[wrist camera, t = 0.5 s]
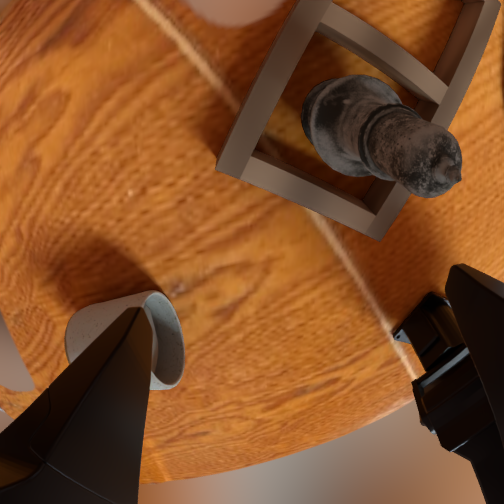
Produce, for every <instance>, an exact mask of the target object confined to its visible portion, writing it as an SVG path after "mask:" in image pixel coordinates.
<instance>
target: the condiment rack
mask: <svg viewBox="0 0 504 504" xmlns="http://www.w3.org/2000/svg"><path fill="white" fill-rule="evenodd" d="M461 1H462V2H463V3H464V6H463V8H462V11H461V13H460V15H459V18H458V20H457V22H456V25H455V27H454V29H453V31H452V34H451V36H450V38H449V40H448V42H447V45H446V47H445V49H444V51H443V53H442V55H441V57H440V59H439V62H438V64H437V66H436V68H435V70H434V72H433V73H432V72H431V71H430V70H429V69H428V68H426V67H425V66H424V65H423V64H422V63H420V62H419V61H418V60H417V59H415V58H414V57H413V56H412V55H410V54H409V53H408V52H407V51H405V50H404V49H403V48H401V47H400V46H399V45H397V44H396V43H395V42H393V41H392V40H391V39H389V38H388V37H386V36H385V35H384V34H382V33H381V32H379V31H378V30H376V29H375V28H373V27H372V26H370V25H369V24H367V23H366V22H364V21H363V20H361V19H359V18H358V17H356V16H355V15H353V14H351V13H350V12H348V11H346V10H345V9H343V8H341V7H339V6H338V5H336V4H334V3H332V0H296V2H295V4H294V6H293V7H292V9H291V11H290V13H289V14H288V16H287V18H286V20H285V22H284V23H283V25H282V27H281V29H280V31H279V32H278V34H277V36H276V38H275V40H274V42H273V44H272V45H271V47H270V49H269V51H268V53H267V55H266V57H265V59H264V61H263V63H262V65H261V66H260V68H259V70H258V72H257V74H256V76H255V78H254V80H253V82H252V84H251V86H250V88H249V90H248V92H247V94H246V97H245V99H244V101H243V103H242V105H241V107H240V109H239V111H238V113H237V115H236V117H235V120H234V122H233V124H232V126H231V128H230V130H229V132H228V135H227V137H226V139H225V141H224V143H223V146H222V148H221V150H220V152H219V155H218V157H217V160H216V167H215V170H217V171H220V172H222V173H225V174H227V175H230V176H232V177H235V178H237V179H240V180H242V181H245V182H247V183H250V184H252V185H255V186H257V187H259V188H262V189H264V190H267V191H269V192H271V193H274V194H276V195H278V196H281V197H283V198H285V199H288V200H290V201H292V202H295V203H297V204H299V205H302V206H304V207H306V208H308V209H311V210H313V211H315V212H317V213H319V214H322V215H324V216H326V217H328V218H330V219H333V220H335V221H337V222H339V223H341V224H343V225H346V226H348V227H350V228H352V229H354V230H356V231H358V232H360V233H362V234H364V235H367V236H369V237H371V238H373V239H375V240H377V241H379V242H380V241H381V240H382V238H383V237H384V235H385V234H386V232H387V231H388V229H389V228H390V226H391V225H392V223H393V222H394V220H395V219H396V217H397V216H398V214H399V212H400V211H401V209H402V208H403V206H404V204H405V203H406V201H407V200H408V198H409V196H410V195H411V192H409V191H408V190H406V189H405V188H404V187H403V186H401V185H400V184H399V183H397V182H396V181H395V180H394V181H389V180H383V179H380V178H378V177H376V179H375V181H374V182H373V184H372V186H371V187H370V189H369V191H368V192H367V194H366V196H365V197H364V199H363V201H362V200H360V199H358V198H356V197H354V196H352V195H350V194H348V193H346V192H344V191H342V190H341V189H339V188H337V187H335V186H333V185H331V184H329V183H327V182H325V181H323V180H321V179H319V178H317V177H314V176H312V175H310V174H308V173H306V172H304V171H302V170H300V169H298V168H296V167H293V166H291V165H289V164H287V163H285V162H283V161H280V160H278V159H276V158H274V157H271V156H269V155H267V154H265V153H262V152H260V151H258V150H255V149H254V148H255V146H256V144H257V142H258V140H259V138H260V136H261V134H262V132H263V130H264V128H265V126H266V124H267V122H268V120H269V118H270V116H271V114H272V112H273V110H274V108H275V106H276V104H277V102H278V100H279V98H280V96H281V94H282V92H283V90H284V88H285V87H286V85H287V83H288V81H289V79H290V77H291V75H292V73H293V71H294V69H295V67H296V66H297V64H298V62H299V60H300V58H301V56H302V54H303V52H304V51H305V49H306V47H307V45H308V43H309V41H310V39H311V38H312V36H313V34H314V32H315V31H316V32H318V33H320V34H322V35H323V36H325V37H327V38H329V39H331V40H332V41H334V42H336V43H338V44H339V45H341V46H343V47H344V48H346V49H348V50H349V51H351V52H353V53H354V54H356V55H357V56H359V57H361V58H362V59H364V60H365V61H367V62H368V63H370V64H371V65H373V66H374V67H376V68H377V69H379V70H380V71H382V72H383V73H384V74H386V75H387V76H389V77H390V78H391V79H393V80H394V81H396V82H397V83H398V84H400V85H401V86H402V87H404V88H405V89H406V90H407V91H409V92H410V93H411V94H413V95H414V96H415V97H416V98H418V99H419V102H418V103H417V105H416V107H415V109H414V110H415V111H416V112H417V113H418V114H419V115H420V117H421V118H422V119H423V120H425V121H428V122H431V123H434V124H436V125H439V126H442V127H444V128H445V129H446V130H448V128H449V126H450V124H451V122H452V120H453V118H454V116H455V114H456V112H457V110H458V108H459V106H460V104H461V102H462V100H463V98H464V96H465V94H466V91H467V89H468V87H469V85H470V83H471V81H472V78H473V76H474V74H475V72H476V69H477V67H478V65H479V62H480V60H481V58H482V55H483V53H484V50H485V48H486V45H487V43H488V40H489V37H490V35H491V32H492V30H493V27H494V24H495V21H496V18H497V15H498V13H499V10H500V7H501V3H500V2H499V1H498V0H461Z"/></svg>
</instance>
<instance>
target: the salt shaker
mask: <svg viewBox="0 0 504 504" xmlns="http://www.w3.org/2000/svg"><path fill="white" fill-rule="evenodd" d="M301 119H302V127H303V129H304V132H305V134H306V136H307V138H308V139H309V140H310V142H311V143H312V144H313V145H314V147H315V150H316V151H317V153H318V154H319V155H320V157H321V158H322V160H323V161H324V162H325V163H326V164H328V165H329V166H330V167H331V168H332V169H333V170H335V171H338V172H340V173H342V174H344V175H348V176H354V177H363V176H370V175H374V176H376V177H378V178H380V179H383V180H389V181H394V180H395V181H396V182H397V183H399V184H400V185H401V186H403V187H404V188H405V189H406V190H408V191H409V192H411V193H413V194H414V195H417V196H419V197H424V198H433V197H437V196H439V195H442V194H444V193H446V192H447V191H448V190H450V189H451V188H452V186H453V185H454V184H456V183H458V182H459V181H461V179H462V178H461V168H462V155H461V150H460V147H459V144H458V142H457V140H456V139H455V137H454V136H453V135H452V134H451V133H450V132H449V131H447V130H446V129H445V128H444V127H442V126H439V125H436V124H434V123H431V122H428V121H425V120H423V119H422V118H421V117H420V115H419V114H418V113H417V112H416V111H415V110H413V109H412V108H410V107H409V106H406V105H403V104H402V102H401V100H400V98H399V97H398V95H397V94H396V93H395V92H394V91H393V90H392V88H391V87H390V86H389V85H387V84H385V83H384V82H382V81H381V80H379V79H377V78H374V77H371V76H367V75H349V76H345V77H342V78H339V79H330V80H327V81H323V82H321V83H320V84H318V85H317V86H315V87H314V88H313V89H312V90H311V91H310V93H309V94H308V95H307V97H306V99H305V101H304V103H303V107H302V113H301Z"/></svg>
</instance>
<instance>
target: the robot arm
mask: <svg viewBox="0 0 504 504" xmlns="http://www.w3.org/2000/svg"><path fill="white" fill-rule="evenodd" d="M445 294H446V297H447V298H445V297H443V296H441V295H438V294H436V293H434V292H430V293H428V294H427V295H426V297H425V298H424V299H423V300H422V301H421V303H420V304H419V305H418V306H417V307H416V309H415V310H414V311H413V312H412V313H411V315H410V316H409V317H408V318H407V319H406V320H405V322H404V323H403V324H402V325H401V326H400V327H399V328H398V329H397V331H396V332H395V333H394V334H393V338H394V340H397V341H401V342H405V343H409V344H411V345H412V347H413V349H414V351H415V353H416V354H417V356H418V358H419V360H420V362H421V364H422V366H423V368H424V370H425V372H426V373H425V374H423V375H422V376H421V377H419V378H418V379H415V380H414V381H412V382H411V383H412V386H413V389H412V390H413V393H414V397H415V400H416V404H417V407H418V411H419V417H420V423H421V425H423V426H426V427H427V428H428V429H429V430H430V432H431V433H432V434H437V436H438V438H439V441H440V444H441V446H442V447H443V448H445V449H446V450H448V451H449V452H454V453H456V454H458V455H460V456H462V457H463V458H465V459H467V460H469V461H470V462H471V464H472V467H473V469H474V472H475V474H476V477H477V479H478V482H479V485H480V487H481V490H482V493H483V496H484V499H485V501H486V504H504V283H503V282H501V281H499V280H497V279H495V278H493V277H491V276H489V275H487V274H485V273H483V272H481V271H478V270H476V269H474V268H472V267H470V266H468V265H466V264H463V263H461V264H456V265H453V266H452V267H451V268H450V271H449V275H448V278H447V282H446V285H445ZM152 343H153V331H152V327H151V325H150V322H149V320H148V318H147V315H146V313H145V310H144V309H143V308H142V307H141V306H137V307H128V308H127V309H126V310H125V311H124V312H123V313H121V314H120V315H119V316H118V317H117V318H116V319H115V320H114V321H113V322H112V323H111V324H110V325H109V326H108V327H107V328H106V329H105V330H104V331H103V332H102V333H101V334H100V335H99V336H98V337H97V338H96V339H95V340H94V341H93V342H92V343H91V344H90V345H89V346H88V347H87V348H86V349H85V350H84V351H83V352H82V353H81V354H80V355H79V356H78V357H77V358H76V359H75V360H74V361H73V362H72V363H71V364H70V365H69V366H68V367H67V368H66V369H65V370H64V371H63V372H62V373H61V374H60V375H59V376H58V377H57V378H56V379H55V380H54V381H53V382H52V383H51V384H50V385H49V388H46V389H45V391H44V392H43V393H42V394H41V395H40V396H39V397H38V398H37V399H36V400H35V401H34V402H33V403H32V404H31V405H30V406H29V407H28V408H27V409H26V410H25V411H24V412H23V413H22V414H21V415H20V416H19V417H18V418H16V419H15V420H14V421H13V422H12V423H11V424H10V425H9V426H8V427H7V428H6V429H4V431H2V432H1V433H0V504H138V489H139V476H140V465H141V455H142V445H143V437H144V428H145V420H146V412H147V405H148V398H149V391H150V383H151V363H152Z"/></svg>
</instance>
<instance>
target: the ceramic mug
mask: <svg viewBox="0 0 504 504" xmlns="http://www.w3.org/2000/svg"><path fill="white" fill-rule="evenodd" d="M137 306H141V307H142V308H143V309H144V310H145V313H146V315H147V318H148V320H149V322H150V325H151V327H152V331H153V343H152V363H151V383H150V390H164V389H171V388H173V387H175V386H176V385H177V384H178V383H179V381H180V380H181V378H182V375H183V371H184V367H185V346H184V339H183V334H182V329H181V325H180V322H179V319H178V317H177V314H176V312H175V310H174V308H173V306H172V304H171V302H170V301H169V300H168V298H167V297H166V296H165V295H164V294H163V293H161V292H159V291H156V290H151V291H145V292H142V293H138V294H134V295H129V296H126V297H122V298H118V299H113V300H110V301H106V302H101V303H96V304H92V305H89V306H87V307H85V308H82V309H81V310H79V311H77V312H76V313H75V314H74V315H73V316H72V317H71V318H70V320H69V322H68V325H67V327H66V331H65V338H64V339H65V352H66V356H67V359H68V362H69V365H70V364H71V363H72V362H73V361H74V360H75V359H76V358H77V357H78V356H79V355H80V354H81V353H82V352H83V351H84V350H85V349H86V348H87V347H88V346H89V345H90V344H91V343H92V342H93V341H94V340H95V339H96V338H97V337H98V336H99V335H100V334H101V333H102V332H103V331H104V330H105V329H106V328H107V327H108V326H109V325H110V324H111V323H112V322H113V321H114V320H115V319H116V318H117V317H118V316H119V315H120V314H121V313H123V312H124V311H125V310H126V309H127V308H128V307H137Z"/></svg>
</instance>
